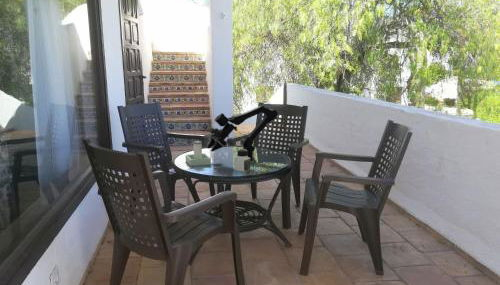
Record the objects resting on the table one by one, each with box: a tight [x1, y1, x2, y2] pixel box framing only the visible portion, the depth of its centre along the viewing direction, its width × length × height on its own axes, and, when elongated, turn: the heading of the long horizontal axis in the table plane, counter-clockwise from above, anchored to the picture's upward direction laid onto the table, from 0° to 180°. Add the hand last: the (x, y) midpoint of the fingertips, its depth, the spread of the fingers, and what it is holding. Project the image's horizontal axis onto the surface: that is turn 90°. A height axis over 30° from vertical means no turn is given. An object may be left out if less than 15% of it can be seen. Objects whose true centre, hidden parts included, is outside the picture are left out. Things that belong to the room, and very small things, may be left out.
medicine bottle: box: [233, 148, 252, 173], centre depth 231 cm, size 7×7×12 cm
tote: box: [185, 152, 212, 168], centre depth 245 cm, size 15×13×4 cm
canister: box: [193, 140, 203, 159], centre depth 244 cm, size 5×5×13 cm
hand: (209, 149), depth 246 cm, fingers open, 9 cm apart
